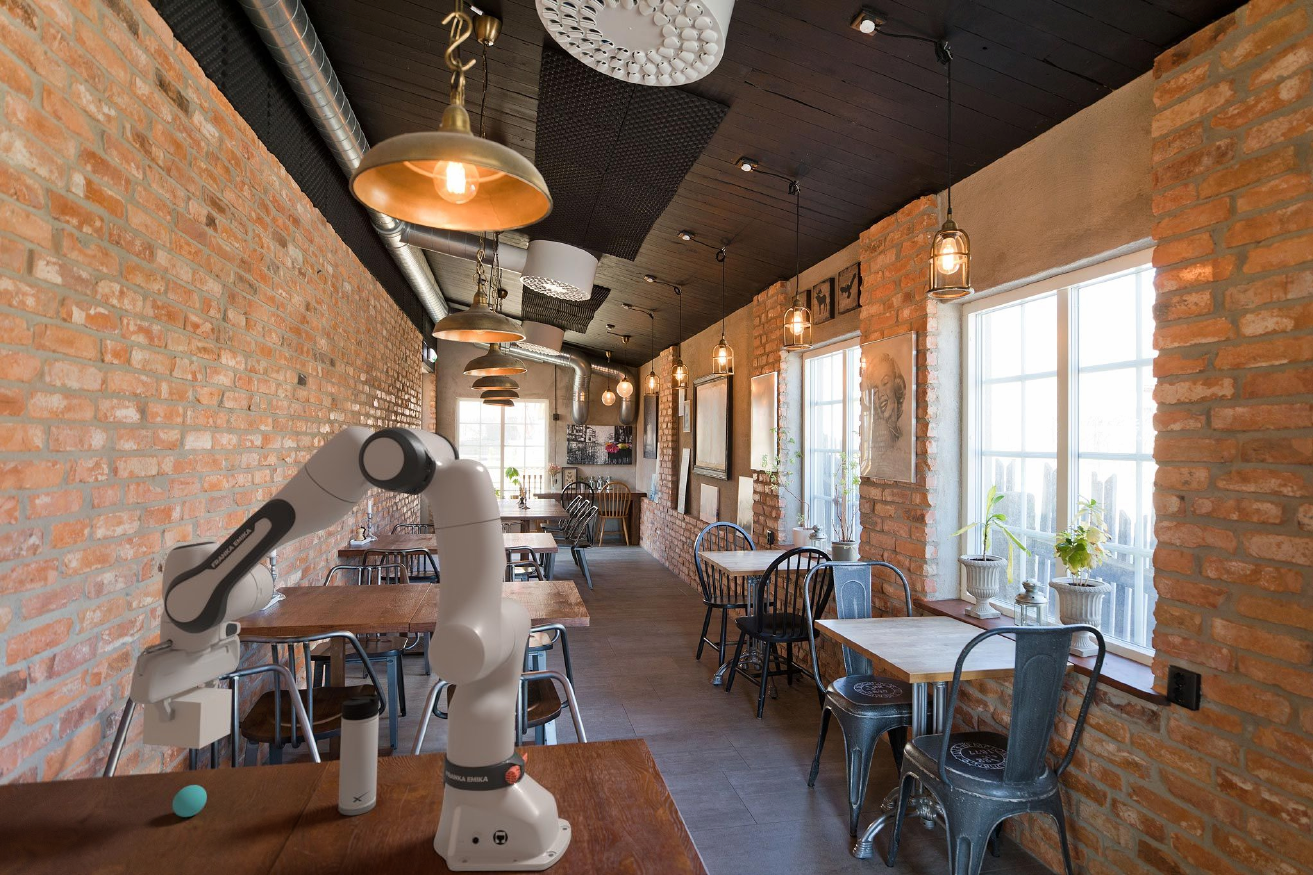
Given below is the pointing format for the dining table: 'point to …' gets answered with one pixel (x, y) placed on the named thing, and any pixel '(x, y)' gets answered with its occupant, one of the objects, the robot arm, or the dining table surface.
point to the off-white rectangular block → (190, 719)
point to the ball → (189, 801)
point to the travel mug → (358, 754)
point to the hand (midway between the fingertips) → (186, 712)
